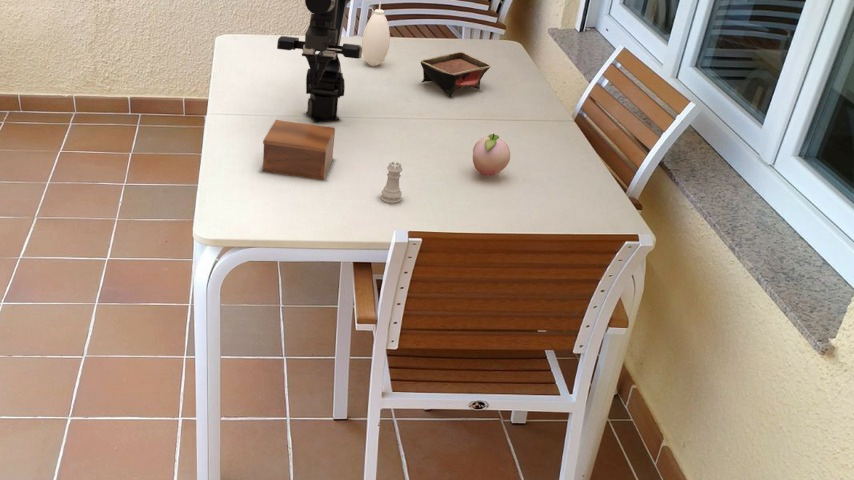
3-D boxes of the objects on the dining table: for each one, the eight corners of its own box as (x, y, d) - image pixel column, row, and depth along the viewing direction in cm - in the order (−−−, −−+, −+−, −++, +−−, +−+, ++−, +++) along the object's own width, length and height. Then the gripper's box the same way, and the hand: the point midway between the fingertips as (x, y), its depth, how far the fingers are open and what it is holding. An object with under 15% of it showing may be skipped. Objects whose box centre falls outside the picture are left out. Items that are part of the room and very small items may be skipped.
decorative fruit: (505, 187, 213) (514, 144, 207) (468, 182, 214) (476, 139, 208) (505, 170, 220) (514, 128, 215) (469, 165, 221) (476, 123, 216)
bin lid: (325, 152, 206) (325, 148, 205) (263, 143, 208) (263, 140, 207) (334, 131, 216) (335, 127, 215) (275, 123, 218) (275, 119, 217)
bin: (323, 180, 210) (326, 150, 206) (262, 171, 212) (264, 142, 208) (332, 159, 220) (334, 131, 216) (274, 151, 222) (275, 123, 218)
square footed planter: (489, 99, 265) (498, 61, 260) (442, 99, 255) (450, 60, 250) (453, 86, 275) (460, 50, 270) (406, 86, 265) (413, 48, 260)
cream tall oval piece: (360, 59, 280) (367, -5, 270) (387, 62, 280) (395, -2, 269) (358, 67, 274) (365, 2, 264) (386, 70, 273) (393, 5, 263)
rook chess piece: (378, 194, 206) (382, 159, 201) (399, 195, 206) (403, 160, 202) (382, 204, 202) (386, 168, 198) (403, 204, 203) (407, 168, 198)
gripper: (276, 9, 210) (268, 83, 216) (360, 19, 208) (351, 94, 213) (285, 10, 220) (278, 80, 226) (366, 19, 218) (357, 90, 223)
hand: (315, 86), depth 222 cm, fingers closed
